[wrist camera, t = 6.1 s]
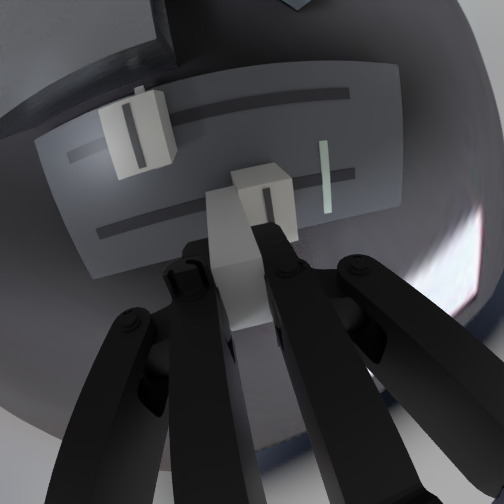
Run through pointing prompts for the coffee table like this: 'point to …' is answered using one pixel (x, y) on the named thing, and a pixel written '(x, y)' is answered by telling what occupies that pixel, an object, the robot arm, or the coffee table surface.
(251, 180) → the fader
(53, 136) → the console
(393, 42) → the coffee table surface
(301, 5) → the door
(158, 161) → the fader
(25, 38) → the cabinet
